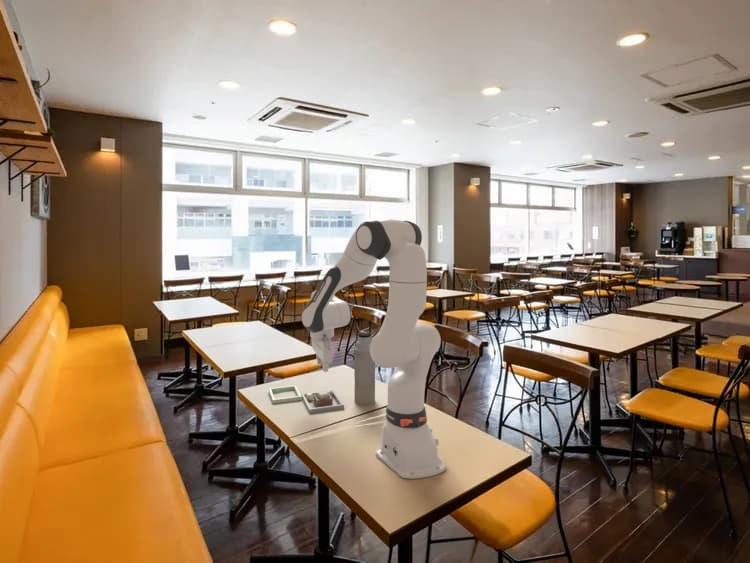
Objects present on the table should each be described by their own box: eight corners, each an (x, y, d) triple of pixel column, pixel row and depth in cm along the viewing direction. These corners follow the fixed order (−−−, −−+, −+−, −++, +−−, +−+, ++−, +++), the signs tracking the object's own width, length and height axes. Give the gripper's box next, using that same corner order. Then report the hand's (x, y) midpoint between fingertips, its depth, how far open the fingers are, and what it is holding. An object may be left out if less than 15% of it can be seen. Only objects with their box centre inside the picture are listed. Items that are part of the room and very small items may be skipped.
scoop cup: (332, 407, 168) (332, 398, 167) (317, 409, 166) (316, 400, 165) (328, 401, 173) (328, 392, 173) (313, 403, 171) (313, 394, 171)
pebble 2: (333, 399, 176) (333, 391, 175) (326, 400, 175) (326, 392, 174) (331, 396, 178) (331, 389, 178) (324, 397, 177) (324, 390, 177)
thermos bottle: (375, 400, 176) (375, 331, 173) (374, 408, 168) (374, 336, 165) (355, 399, 177) (355, 331, 173) (353, 407, 169) (353, 336, 165)
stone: (328, 404, 169) (328, 393, 168) (321, 406, 167) (321, 395, 167) (324, 401, 172) (324, 390, 171) (317, 403, 170) (317, 392, 169)
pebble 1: (314, 401, 173) (314, 394, 172) (306, 402, 172) (306, 395, 171) (312, 399, 176) (312, 391, 175) (305, 400, 175) (305, 392, 174)
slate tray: (344, 411, 166) (344, 404, 165) (309, 416, 161) (309, 409, 161) (333, 395, 180) (333, 390, 180) (301, 400, 176) (301, 394, 176)
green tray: (301, 402, 174) (301, 396, 173) (272, 406, 170) (272, 400, 170) (295, 391, 186) (295, 385, 185) (269, 394, 182) (268, 388, 182)
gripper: (337, 337, 157) (337, 375, 159) (324, 325, 176) (324, 359, 178) (320, 339, 155) (320, 377, 157) (308, 326, 174) (308, 360, 176)
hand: (322, 367), depth 168 cm, fingers open, 8 cm apart
